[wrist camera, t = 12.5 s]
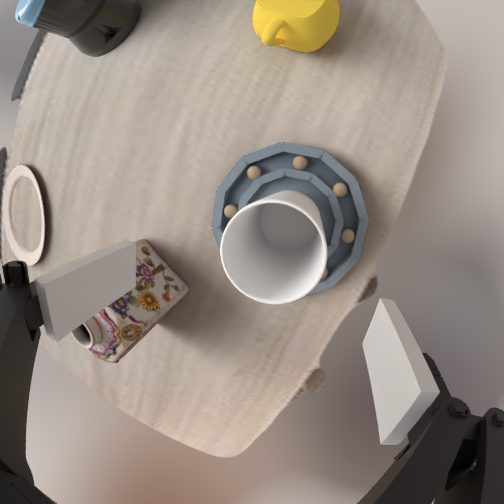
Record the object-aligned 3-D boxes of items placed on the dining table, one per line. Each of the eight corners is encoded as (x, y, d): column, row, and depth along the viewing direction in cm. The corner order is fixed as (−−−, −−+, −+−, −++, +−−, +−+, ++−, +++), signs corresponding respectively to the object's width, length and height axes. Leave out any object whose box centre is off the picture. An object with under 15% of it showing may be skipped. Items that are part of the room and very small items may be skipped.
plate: (32, 280, 55) (27, 282, 53) (1, 207, 52) (-4, 208, 50) (63, 225, 46) (56, 227, 45) (29, 143, 44) (23, 143, 42)
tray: (231, 137, 35) (225, 134, 33) (375, 164, 32) (380, 163, 29) (211, 271, 41) (205, 277, 39) (342, 301, 38) (343, 309, 35)
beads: (236, 146, 34) (232, 144, 32) (367, 171, 31) (369, 171, 30) (218, 268, 39) (214, 272, 38) (336, 295, 37) (337, 300, 35)
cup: (318, 187, 33) (323, 194, 18) (322, 249, 35) (329, 302, 20) (255, 193, 35) (212, 205, 20) (262, 253, 37) (227, 305, 22)
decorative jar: (156, 324, 47) (98, 382, 30) (115, 278, 46) (45, 320, 29) (193, 287, 43) (129, 348, 26) (145, 235, 42) (64, 269, 25)
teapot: (289, -19, 25) (280, -59, 15) (355, 2, 25) (362, -38, 15) (240, 56, 31) (216, 22, 21) (312, 81, 31) (310, 48, 21)
